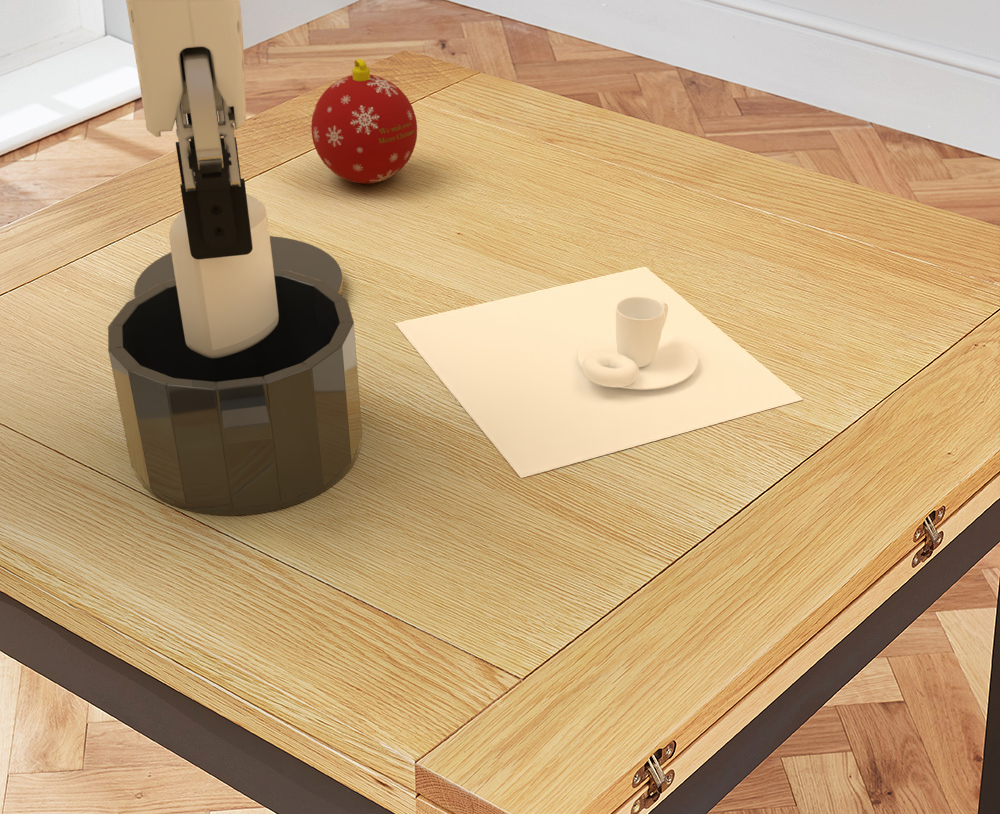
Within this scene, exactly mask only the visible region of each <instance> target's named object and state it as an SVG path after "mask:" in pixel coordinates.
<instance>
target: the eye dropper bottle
mask: <svg viewBox="0 0 1000 814" xmlns="http://www.w3.org/2000/svg"><path fill="white" fill-rule="evenodd" d="M194 176H195V172H194ZM195 183H196V182H195ZM246 196H247V205H248V213H249V221H250V230H251V238H252V246H253V249H252V251H251V252H250V253H249V254H247V255H238V256H228V257H219V258H209V259H194V258H193V257H192V256H191V253H190V246H189V240H188V233H187V227H186V220H185V213H184V208H183V209H182V210H181V211H180V212H179V213H178V214H177V216H175V218H174V220H173V221H172V223H171V225H170V227H169V245H170V252H171V253H172V260H173V267H174V273H175V280H176V286H177V292H178V299H179V305H180V311H181V317H182V323H183V330H184V336H185V341H186V345H187V346H188V347H189V348H190V349H191V350H193V351H195V352H197V353H199V354H201V355H203V356H205V357H208V358H220V357H224V356H228V355H231V354H234V353H237V352H240V351H243V350H245V349H247V348H249V347H251V346H253V345H255V344H257V343H258V342H260V341H261V340H263V339H264V338H265V337H266V336H268V335H269V334H270V333H271V332H272V331H273V330H274V329H275V327H276V326H277V324H278V319H279V314H278V304H277V295H276V286H275V278H274V269H273V260H272V252H271V243H270V236H271V235H270V228H269V221H268V214H267V209H266V207H265V205H264V203H263V202H262V201H261V200H259V199H258V198H257V197H255V196H253V195H250V194H249V193H246Z"/></svg>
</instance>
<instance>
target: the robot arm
mask: <svg viewBox="0 0 1000 814" xmlns="http://www.w3.org/2000/svg"><path fill="white" fill-rule="evenodd" d="M125 3H126V8H127V14H128V22H129V28H130V33H131V38H132V46H133V52H134V57H135V64H136V65H135V66H136V70H137V77H138V82H139V89H140V95H141V101H142V109H143V114H144V115H143V116H144V122H145V128H146V130H147V131H148V132H149V133H150V134H151V135H152V136H154V137H156V138H159V137H161V136H162V135H161V133H162V132H163V133H164V132H172V131H173V129H174V126H175V127H176V128H175V133H176V134H175V135H176V137H177V140H178V141H175V148H176V154H177V155H176V156H177V161H178V169H179V176H180V182H181V184H179V185H180V193H181V199H182V208H183V209H184V213H185V220H186V227H187V233H188V240H189V246H190V253H191V256H192V257H193V258H194V259H209V258H219V257H228V256H238V255H247V254H249V253H250V252H251V251H252V249H253V246H252V238H251V230H250V221H249V213H248V205H247V196H246V194H247V190H246V180H245V178H242V175H241V168H240V167H241V166H240V159H239V152H238V151H239V150H238V144H237V143H238V142H237V137H236V136H235V130H236V131H238V130H239V129H240V128H241V127H243V125H244V124H245V123H246V121H247V102H246V101H247V99H246V95H247V94H246V71H245V52H244V35H243V21H242V19H243V18H242V9H241V8H242V7H241V0H125ZM175 124H176V125H175ZM194 172H195V176H194ZM195 182H196V183H195Z"/></svg>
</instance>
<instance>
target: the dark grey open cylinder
mask: <svg viewBox="0 0 1000 814" xmlns="http://www.w3.org/2000/svg"><path fill="white" fill-rule="evenodd" d="M274 278H275V286H276V295H277V304H278V314H279V319H278V324H277V326H276V327H275V329H274V330H273V331H272V332H271V333H270V334H269V335H268V336H266V337H265V338H264V339H263V340H261V341H260V342H258V343H257V344H255V345H253V346H251V347H249V348H247V349H245V350H243V351H240V352H237V353H234V354H231V355H228V356H224V357H220V358H208V357H205V356H203V355H201V354H199V353H197V352H195V351H193V350H191V349H190V348H189V347H188V346H187V345H186V341H185V336H184V330H183V323H182V317H181V311H180V305H179V299H178V292H177V286H176V280H175V279H174V280H171V281H167V282H164V283H161V284H158V285H156V286H155V287H153V288H151V289H149V290H148V291H146V292H144V293H143V294H141V295H139V296H137V297H136V298H135V297H134V298H132V299H131V300H129V301H127V302H126V303H125V304H124V305H123V307H122V308H121V309H120V310H119V312H118V313H117V314H116V315H115V316H114V318H113V319H112V321H111V322H110V323H109V324H108V326H107V351H108V356H109V361H110V365H111V370H112V375H113V382H114V387H115V392H116V396H117V400H118V406H119V409H120V410H119V411H120V417H121V421H122V426H123V431H124V437H125V441H126V445H127V450H128V456H129V461H130V465H131V468H132V469H133V470H134V471H133V472H134V473H135V476H136V478H137V479H138V481H139V482H140V484H141V485H142V486H143V487H144V489H146V490H147V491H148V492H149V493H150V494H151V495H153V496H154V497H156V498H157V499H159V500H160V501H162V502H164V503H166V504H169V505H171V506H174V507H175V508H179V509H182V510H186V511H189V512H194V513H198V514H206V515H213V516H247V515H256V514H263V513H270V512H274V511H278V510H282V509H285V508H290V507H293V506H295V505H298V504H301V503H304V502H306V501H309V500H310V499H312V498H314V497H317V496H319V495H320V494H322V493H323V492H325V491H327V490H328V489H330V488H331V487H332V486H334V485H335V484H337V483H338V482H339V481H340V480H341V479H342V478H344V476H345V475H347V473H348V472H349V471H350V470H351V468H352V467H353V466H354V464H355V462H356V460H357V459H358V455H359V453H360V450H361V442H362V438H363V429H362V415H361V400H360V385H359V374H358V360H357V359H358V358H357V345H356V334H355V333H356V332H355V321H354V318H353V315H352V312H351V308H350V304H349V301H348V299H347V298H346V297H345V296H344V295H342V294H339V293H338V292H337V291H335V290H334V289H333V288H331V287H330V286H329V285H328V284H326V283H325V282H323V281H320V280H317V279H313V278H310V277H307V276H304V275H301V274H298V273H294V272H291V271H287V270H276V269H274Z"/></svg>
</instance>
